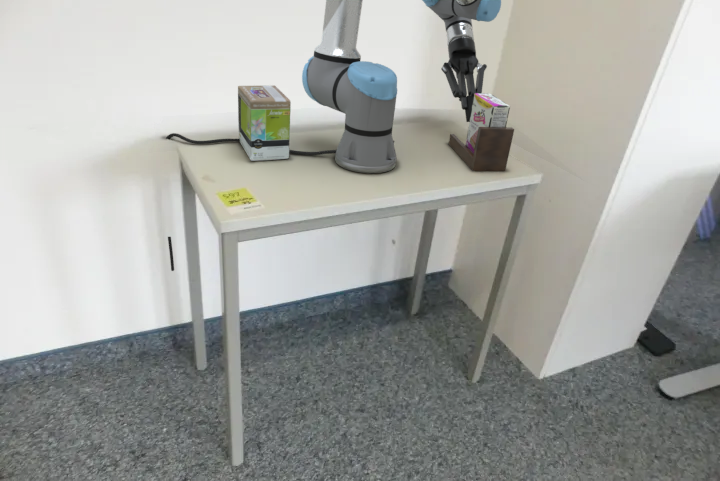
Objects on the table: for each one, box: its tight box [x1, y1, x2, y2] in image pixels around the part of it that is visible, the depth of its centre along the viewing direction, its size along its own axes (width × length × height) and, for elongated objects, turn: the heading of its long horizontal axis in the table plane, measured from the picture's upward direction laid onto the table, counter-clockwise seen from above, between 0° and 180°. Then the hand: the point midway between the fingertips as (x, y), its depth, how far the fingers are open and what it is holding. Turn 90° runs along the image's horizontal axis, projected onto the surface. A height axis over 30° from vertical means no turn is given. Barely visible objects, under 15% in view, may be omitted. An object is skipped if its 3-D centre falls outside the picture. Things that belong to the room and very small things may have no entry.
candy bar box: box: [465, 92, 511, 154], centre depth 144 cm, size 11×5×16 cm, turn 15°
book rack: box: [448, 126, 515, 172], centre depth 147 cm, size 9×20×11 cm, turn 10°
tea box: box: [237, 85, 292, 162], centre depth 139 cm, size 15×10×15 cm, turn 22°
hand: (470, 119), depth 152 cm, fingers closed
